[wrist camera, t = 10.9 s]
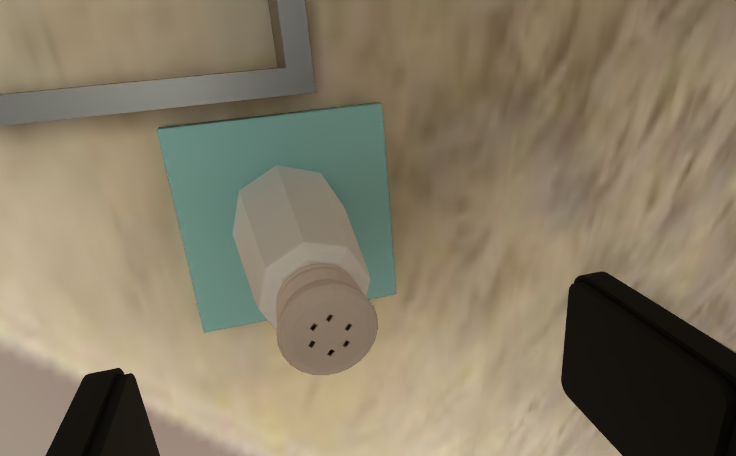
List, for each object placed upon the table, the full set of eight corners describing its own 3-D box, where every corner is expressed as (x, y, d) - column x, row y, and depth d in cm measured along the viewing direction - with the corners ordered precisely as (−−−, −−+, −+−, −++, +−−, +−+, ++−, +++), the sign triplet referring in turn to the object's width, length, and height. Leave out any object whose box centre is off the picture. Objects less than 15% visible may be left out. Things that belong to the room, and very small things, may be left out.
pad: (377, 102, 23) (381, 103, 23) (392, 287, 27) (396, 293, 26) (159, 127, 21) (156, 129, 20) (205, 324, 25) (204, 333, 24)
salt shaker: (208, 238, 22) (185, 377, 12) (270, 140, 22) (300, 202, 12) (305, 288, 24) (354, 444, 14) (365, 200, 24) (460, 298, 14)
